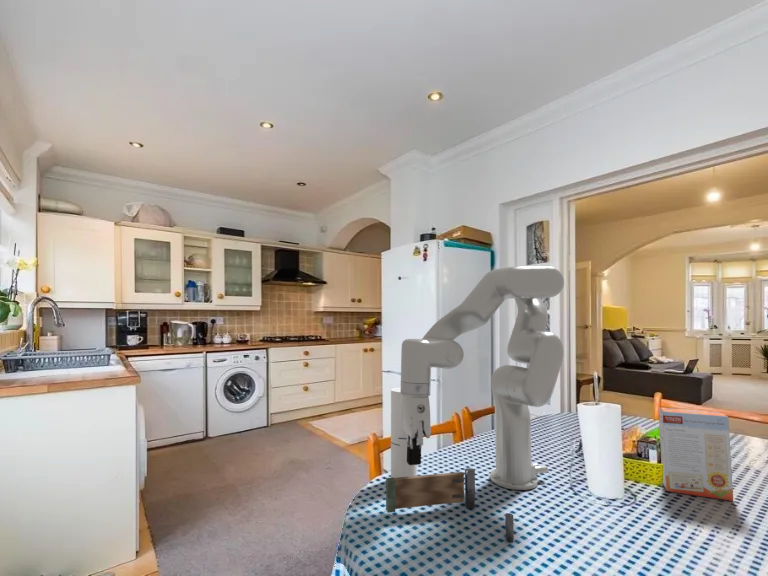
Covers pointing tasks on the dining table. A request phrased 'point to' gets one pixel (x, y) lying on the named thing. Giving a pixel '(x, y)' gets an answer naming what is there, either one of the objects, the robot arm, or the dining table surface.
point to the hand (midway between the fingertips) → (413, 463)
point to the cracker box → (696, 452)
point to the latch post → (509, 527)
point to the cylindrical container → (399, 439)
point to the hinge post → (469, 488)
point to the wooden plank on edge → (424, 490)
